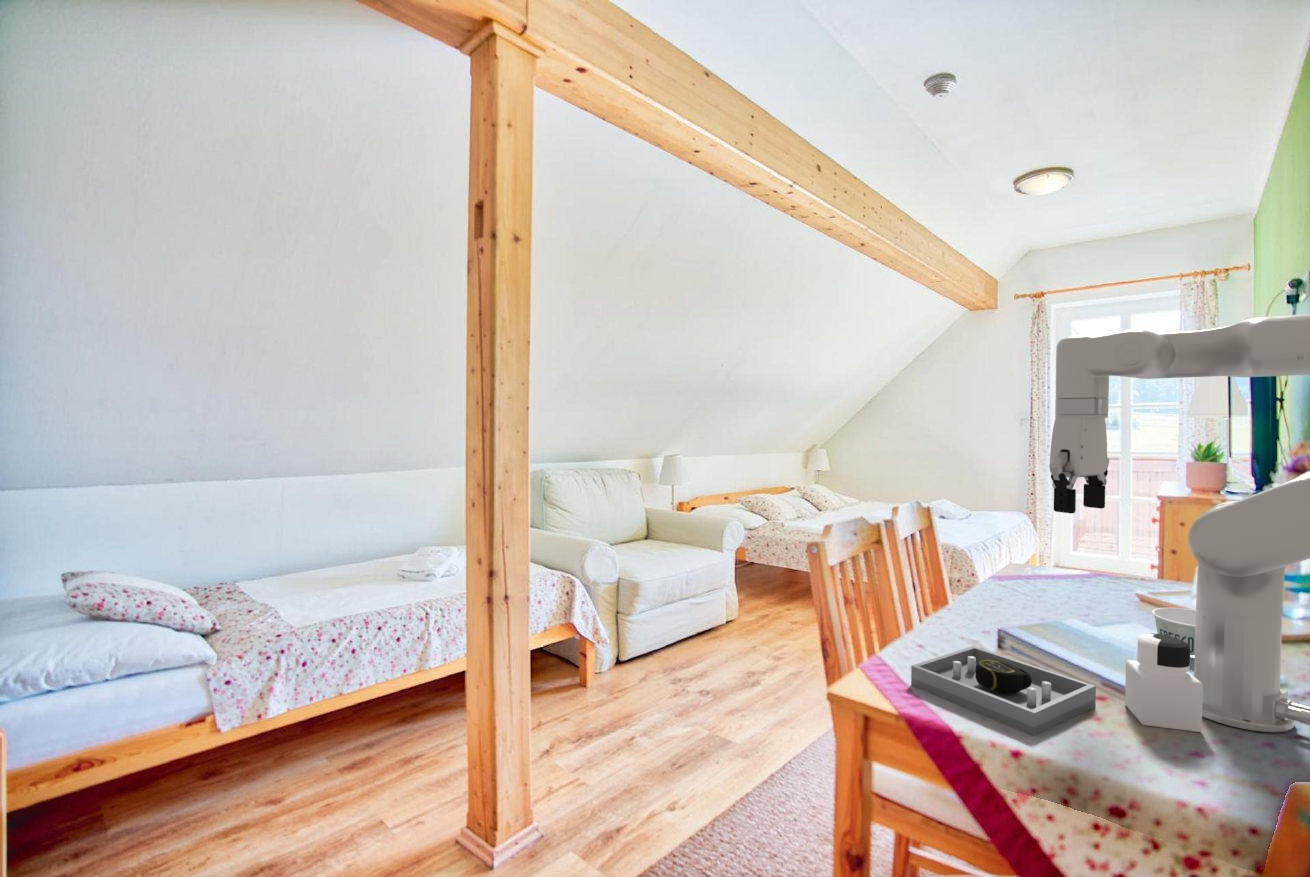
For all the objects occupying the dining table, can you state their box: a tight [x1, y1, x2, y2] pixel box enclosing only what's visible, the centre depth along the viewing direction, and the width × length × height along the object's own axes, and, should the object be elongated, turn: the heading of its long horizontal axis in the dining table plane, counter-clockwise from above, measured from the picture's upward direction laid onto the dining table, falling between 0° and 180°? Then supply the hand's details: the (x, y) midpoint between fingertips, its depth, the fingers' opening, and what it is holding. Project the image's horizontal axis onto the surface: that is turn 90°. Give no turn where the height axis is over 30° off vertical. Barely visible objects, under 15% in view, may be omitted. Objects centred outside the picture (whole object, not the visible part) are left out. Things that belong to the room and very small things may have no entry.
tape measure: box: [975, 659, 1032, 693], centre depth 102 cm, size 7×7×4 cm
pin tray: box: [910, 645, 1097, 737], centre depth 103 cm, size 20×17×4 cm
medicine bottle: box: [1124, 633, 1203, 733], centre depth 95 cm, size 7×7×12 cm
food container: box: [1151, 607, 1196, 655], centre depth 121 cm, size 12×12×6 cm
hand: (1079, 509), depth 110 cm, fingers open, 9 cm apart
